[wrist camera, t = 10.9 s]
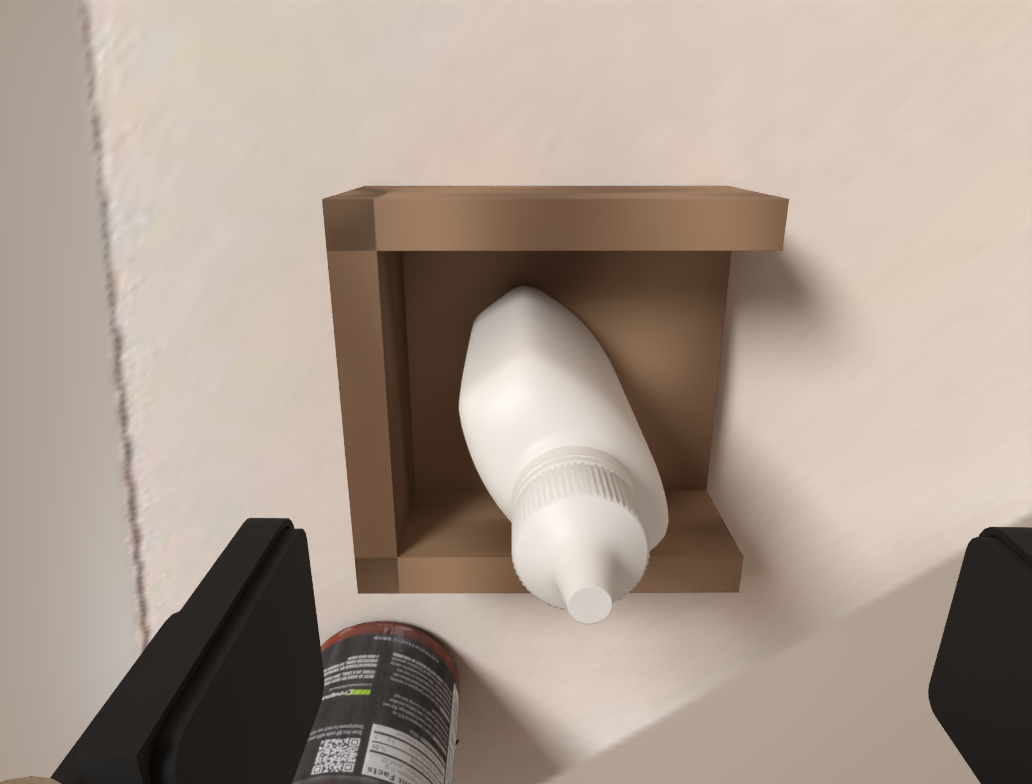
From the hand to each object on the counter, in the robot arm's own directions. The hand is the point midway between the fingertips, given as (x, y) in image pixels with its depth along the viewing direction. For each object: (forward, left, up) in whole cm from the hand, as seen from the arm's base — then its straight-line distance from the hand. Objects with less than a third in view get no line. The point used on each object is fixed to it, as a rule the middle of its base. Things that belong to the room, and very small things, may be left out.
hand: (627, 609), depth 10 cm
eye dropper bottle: (0, 0, -13) cm, 13 cm away
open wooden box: (+1, +1, -14) cm, 14 cm away
